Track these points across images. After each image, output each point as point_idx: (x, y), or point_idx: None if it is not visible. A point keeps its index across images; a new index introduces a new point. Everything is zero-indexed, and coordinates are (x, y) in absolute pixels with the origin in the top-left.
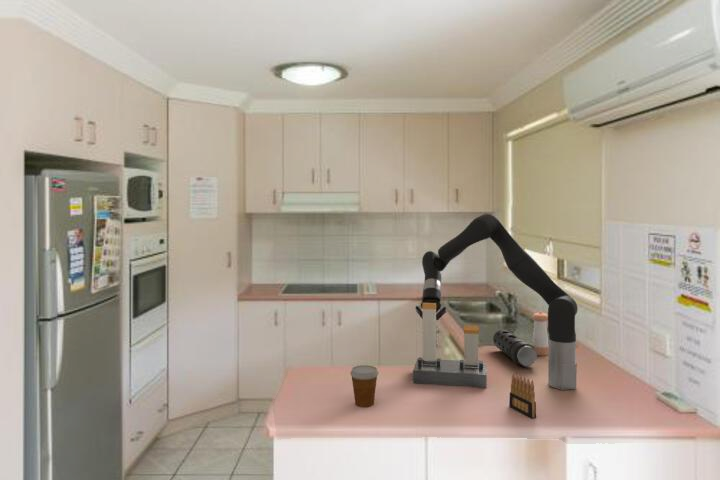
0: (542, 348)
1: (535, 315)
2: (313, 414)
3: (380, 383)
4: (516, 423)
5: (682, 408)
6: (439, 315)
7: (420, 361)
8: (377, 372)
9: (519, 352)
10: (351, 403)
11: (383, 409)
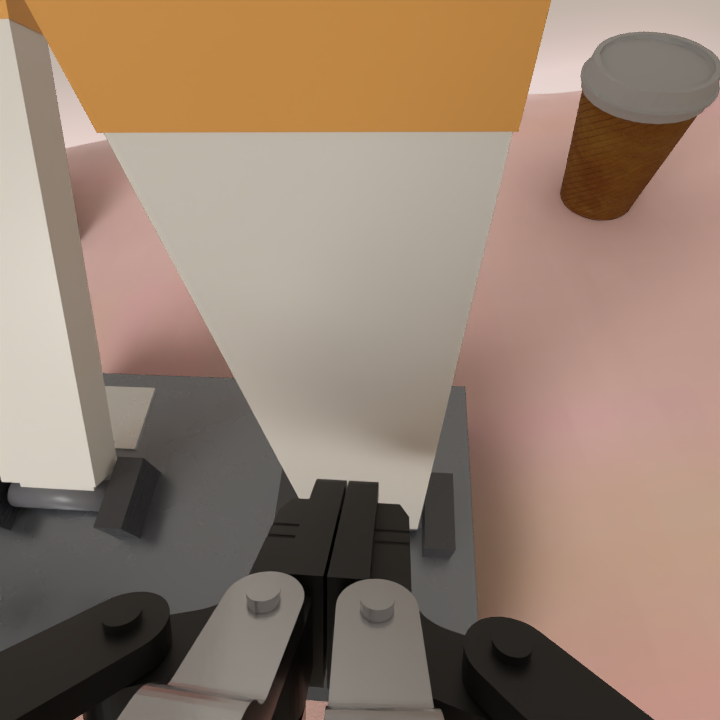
0: None
1: None
2: (714, 121)
3: (627, 397)
4: (113, 155)
5: None
6: (29, 663)
7: (431, 475)
8: (588, 77)
9: None
10: (643, 194)
11: (512, 173)
